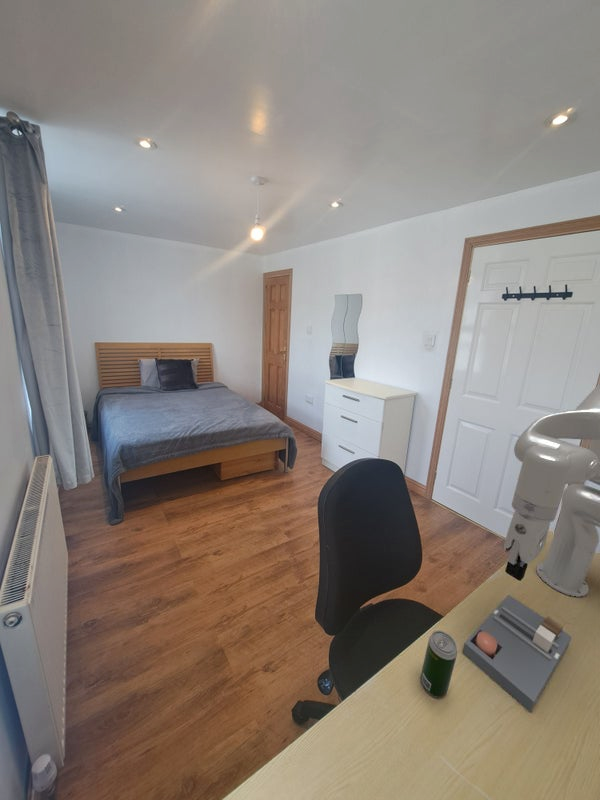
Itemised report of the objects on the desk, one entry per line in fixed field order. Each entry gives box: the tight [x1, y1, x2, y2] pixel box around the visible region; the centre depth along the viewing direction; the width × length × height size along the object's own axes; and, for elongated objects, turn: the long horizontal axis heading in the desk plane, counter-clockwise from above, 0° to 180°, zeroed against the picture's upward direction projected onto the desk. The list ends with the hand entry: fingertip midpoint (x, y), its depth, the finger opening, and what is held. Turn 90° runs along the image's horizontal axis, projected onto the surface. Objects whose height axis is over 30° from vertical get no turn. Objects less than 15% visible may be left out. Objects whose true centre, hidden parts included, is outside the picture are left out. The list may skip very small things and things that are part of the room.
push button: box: [474, 631, 497, 660], centre depth 74 cm, size 4×4×4 cm
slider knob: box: [532, 625, 556, 653], centre depth 74 cm, size 3×3×3 cm
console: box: [461, 594, 573, 713], centre depth 76 cm, size 24×14×4 cm, turn 126°
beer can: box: [420, 630, 458, 699], centre depth 66 cm, size 5×5×12 cm
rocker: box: [541, 616, 564, 637], centre depth 78 cm, size 5×3×1 cm, turn 127°
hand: (514, 574), depth 72 cm, fingers closed
